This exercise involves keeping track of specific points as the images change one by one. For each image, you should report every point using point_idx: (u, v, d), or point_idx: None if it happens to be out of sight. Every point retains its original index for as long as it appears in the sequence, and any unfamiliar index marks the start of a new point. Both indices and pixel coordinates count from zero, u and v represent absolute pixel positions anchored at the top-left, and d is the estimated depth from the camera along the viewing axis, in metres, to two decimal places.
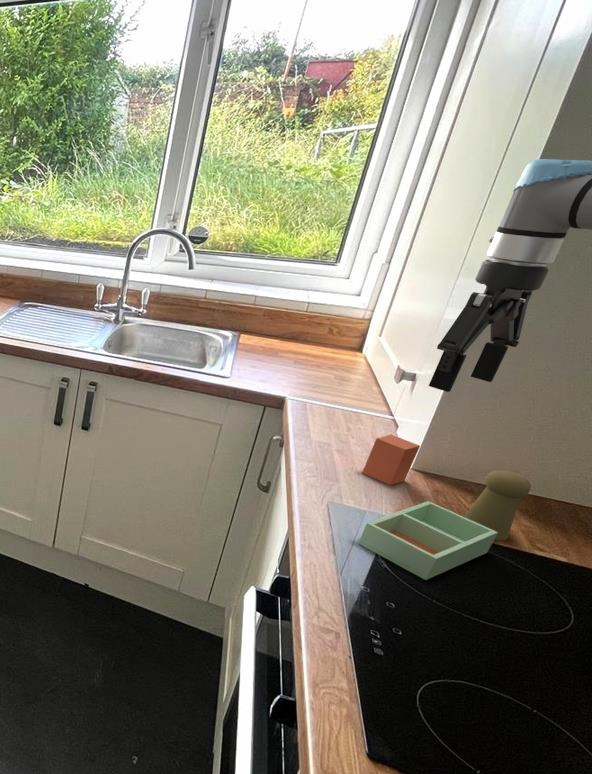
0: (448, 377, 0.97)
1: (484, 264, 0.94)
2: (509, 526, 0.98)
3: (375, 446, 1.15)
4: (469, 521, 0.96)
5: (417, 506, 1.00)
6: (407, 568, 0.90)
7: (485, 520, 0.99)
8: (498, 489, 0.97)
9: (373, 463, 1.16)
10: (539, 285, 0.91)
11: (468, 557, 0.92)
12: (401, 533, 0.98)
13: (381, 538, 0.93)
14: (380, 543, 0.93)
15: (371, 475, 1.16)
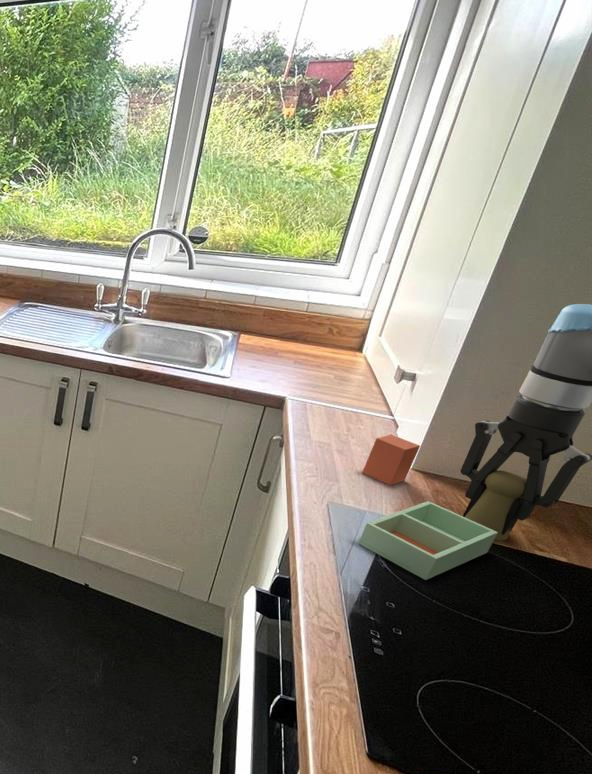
0: None
1: None
2: None
3: (375, 446, 1.15)
4: (469, 521, 0.96)
5: (417, 506, 1.00)
6: (407, 568, 0.90)
7: (485, 520, 0.99)
8: (498, 489, 0.97)
9: (373, 463, 1.16)
10: (530, 421, 0.92)
11: (468, 557, 0.92)
12: (401, 533, 0.98)
13: (381, 538, 0.93)
14: (380, 543, 0.93)
15: (371, 475, 1.16)
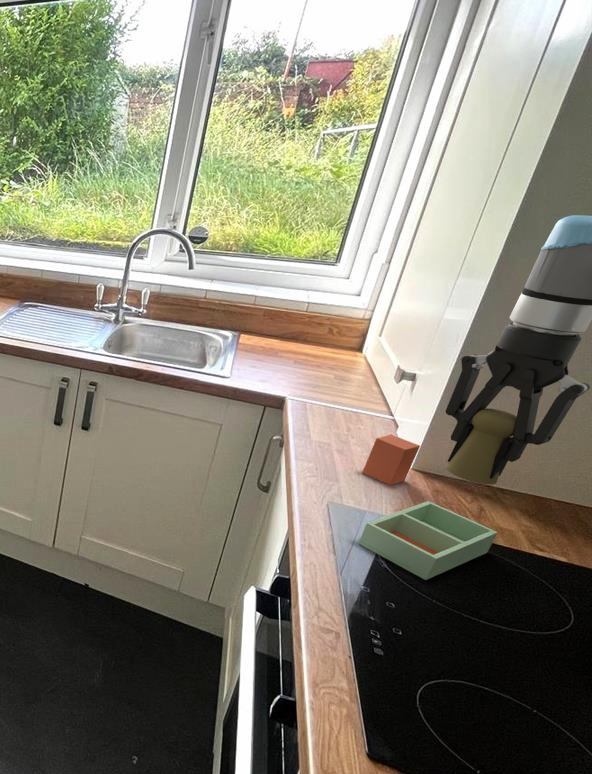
0: None
1: None
2: None
3: (375, 446, 1.15)
4: (469, 521, 0.96)
5: (417, 506, 1.00)
6: (407, 568, 0.90)
7: (472, 462, 0.90)
8: (486, 428, 0.88)
9: (373, 463, 1.16)
10: (520, 349, 0.83)
11: (468, 557, 0.92)
12: (401, 533, 0.98)
13: (381, 538, 0.93)
14: (380, 543, 0.93)
15: (371, 475, 1.16)
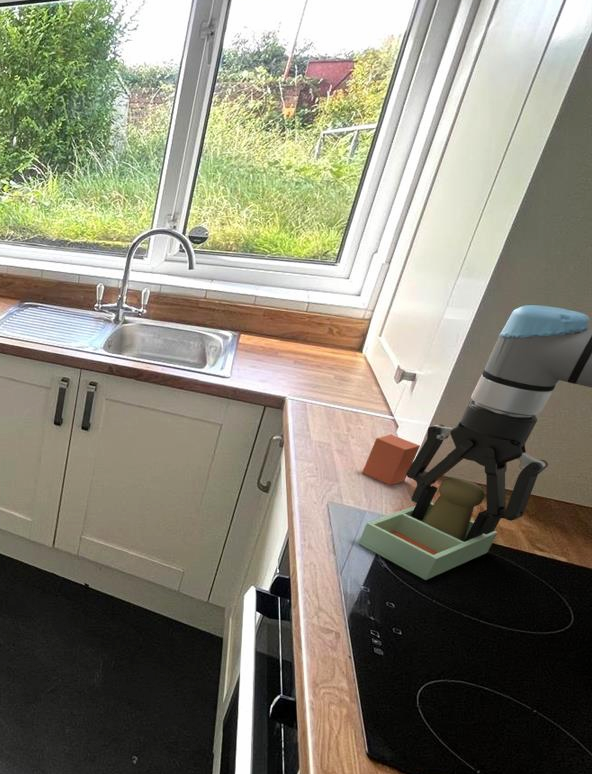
0: None
1: None
2: (463, 536, 0.94)
3: (375, 446, 1.15)
4: None
5: None
6: (407, 568, 0.90)
7: (439, 529, 0.95)
8: (451, 498, 0.93)
9: (373, 463, 1.16)
10: (481, 428, 0.88)
11: (468, 557, 0.92)
12: (401, 533, 0.98)
13: (381, 538, 0.93)
14: (380, 543, 0.93)
15: (371, 475, 1.16)
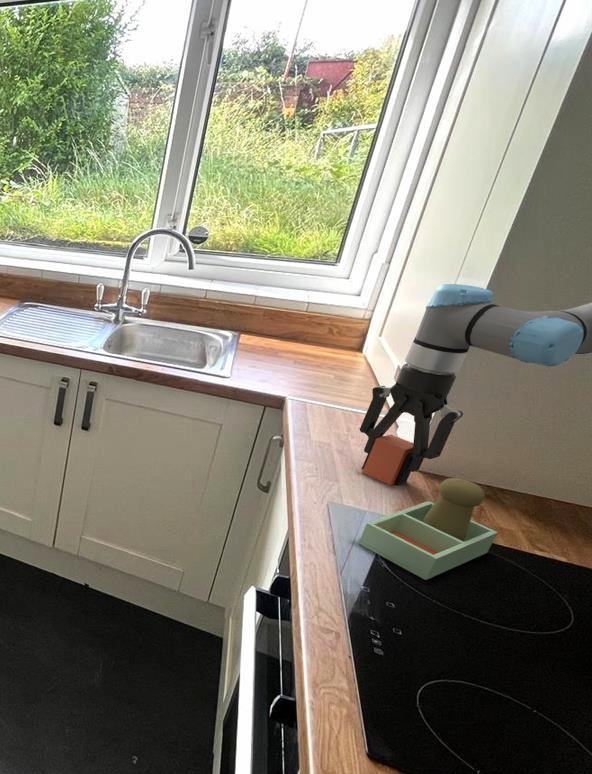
0: None
1: None
2: (463, 536, 0.94)
3: (375, 446, 1.15)
4: None
5: (417, 506, 1.00)
6: (407, 568, 0.90)
7: (439, 529, 0.95)
8: (451, 498, 0.93)
9: (373, 463, 1.16)
10: (411, 385, 1.08)
11: (468, 557, 0.92)
12: (401, 533, 0.98)
13: (381, 538, 0.93)
14: (380, 543, 0.93)
15: (371, 475, 1.16)
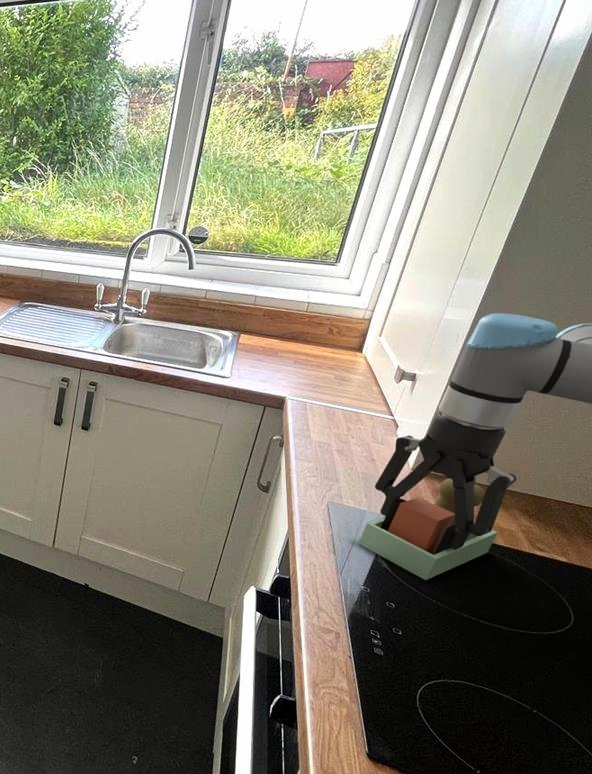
0: None
1: None
2: None
3: (399, 513, 0.92)
4: None
5: None
6: (407, 568, 0.90)
7: None
8: (451, 498, 0.93)
9: (396, 534, 0.93)
10: (448, 441, 0.85)
11: (468, 557, 0.92)
12: None
13: (381, 538, 0.93)
14: (380, 543, 0.93)
15: None
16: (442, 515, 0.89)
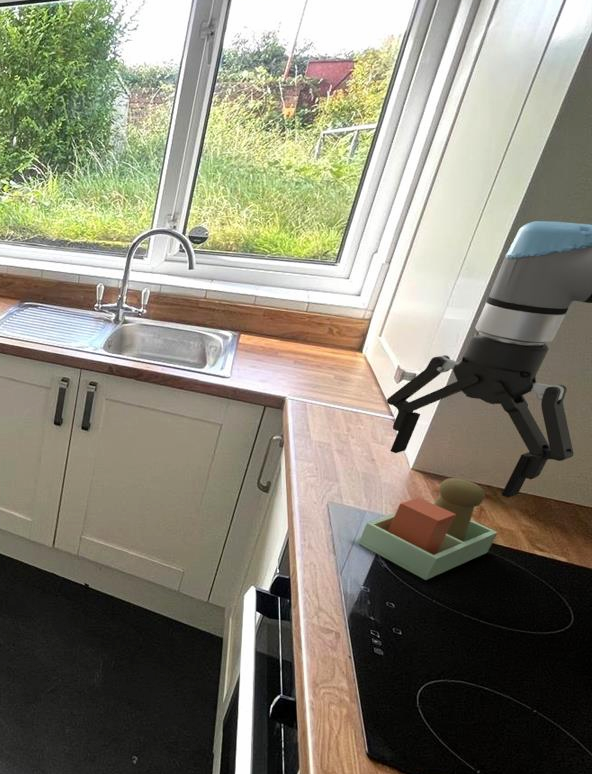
0: None
1: None
2: (463, 536, 0.94)
3: (399, 513, 0.92)
4: None
5: None
6: (407, 568, 0.90)
7: None
8: (451, 498, 0.93)
9: (396, 534, 0.93)
10: (486, 360, 0.80)
11: (468, 557, 0.92)
12: None
13: (381, 538, 0.93)
14: (380, 543, 0.93)
15: None
16: (442, 515, 0.89)
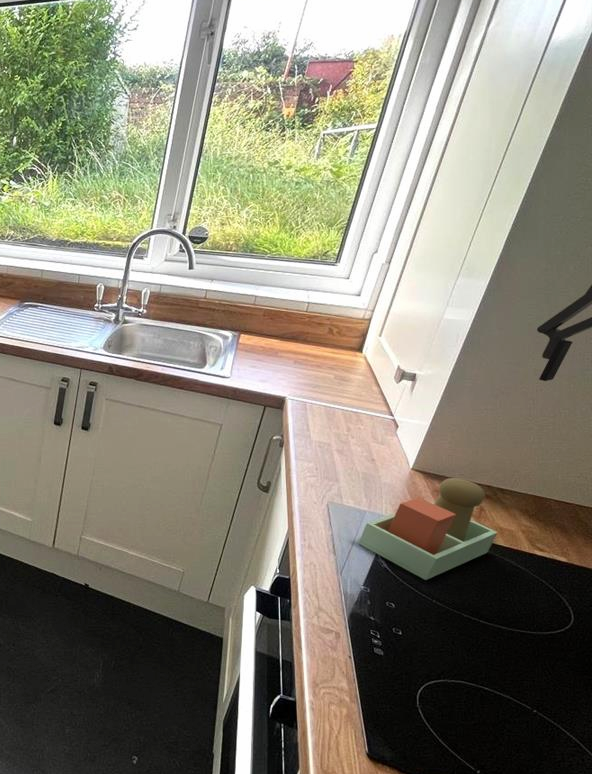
0: None
1: None
2: (463, 536, 0.94)
3: (399, 513, 0.92)
4: None
5: None
6: (407, 568, 0.90)
7: None
8: (451, 498, 0.93)
9: (396, 534, 0.93)
10: None
11: (468, 557, 0.92)
12: None
13: (381, 538, 0.93)
14: (380, 543, 0.93)
15: None
16: (442, 515, 0.89)
